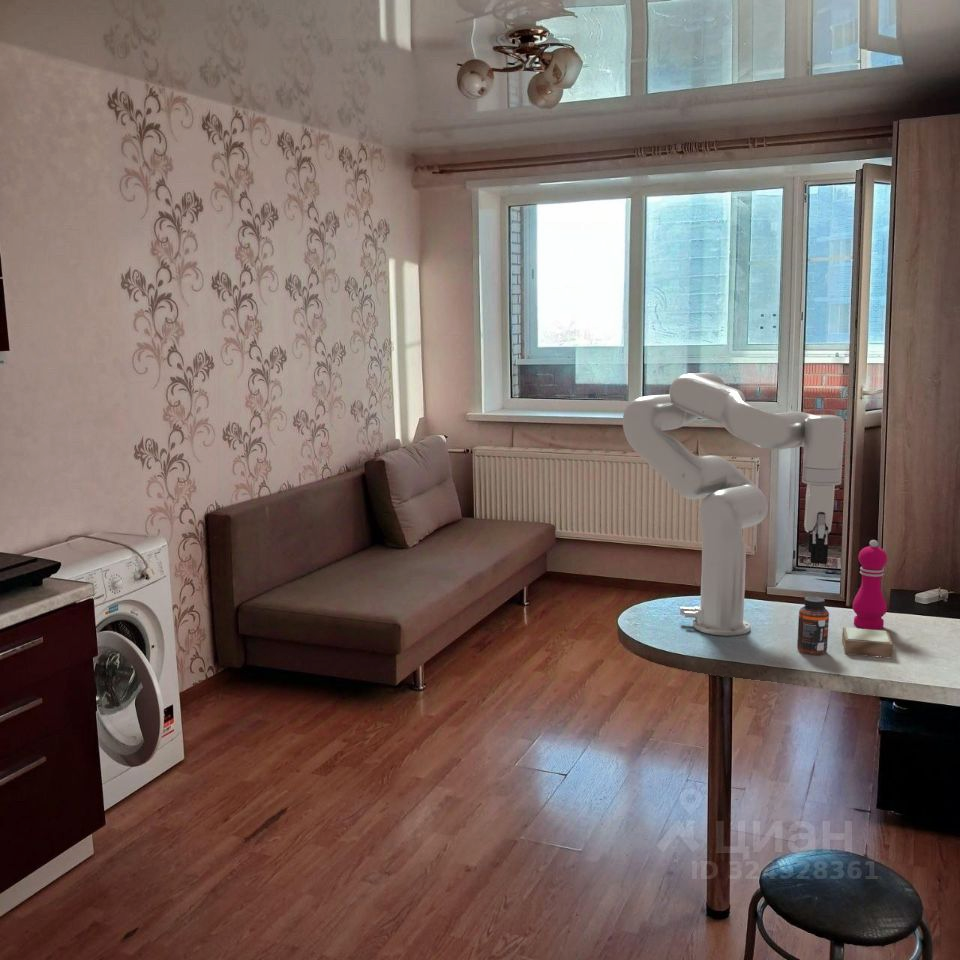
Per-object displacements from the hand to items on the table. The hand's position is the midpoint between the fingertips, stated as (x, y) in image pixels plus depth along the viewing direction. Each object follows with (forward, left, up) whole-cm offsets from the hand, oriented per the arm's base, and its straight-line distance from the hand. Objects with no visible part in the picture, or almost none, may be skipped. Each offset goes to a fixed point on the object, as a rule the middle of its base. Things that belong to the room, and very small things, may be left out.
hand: (817, 557), depth 199 cm
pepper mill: (+13, +22, -20) cm, 33 cm away
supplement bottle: (0, 0, -20) cm, 20 cm away
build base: (+11, +5, -20) cm, 23 cm away
